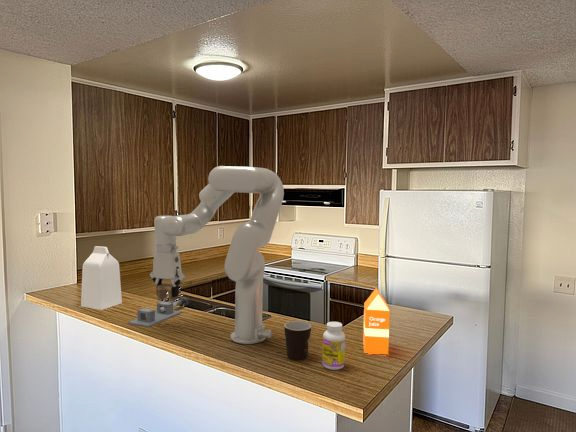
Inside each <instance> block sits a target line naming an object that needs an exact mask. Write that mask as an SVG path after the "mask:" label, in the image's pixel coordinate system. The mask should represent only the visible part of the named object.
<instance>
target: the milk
mask: <svg viewBox="0 0 576 432" xmlns="http://www.w3.org/2000/svg"><path fill="white" fill-rule="evenodd" d="M108 249H109V248H108V247H107V246H99V245H98V246H97V245H95V246H94V247H93V250H92V253H91V254H90V255H89V256H88V257H87V258H86V260H85V261H84V262H83V264H82V271H81V274H82V275H81V276H82V277H81V297H80V307H83V308H89V309H94V310H99V311H103V310H106V309H109V308H111V307H115V306H118V305H121V304H123V301H122V300H123V299H122V286H121V283H122V282H121V271H120V263H119V261H118V260H117V259H116V258H115V257H114V256H113V255H112V254H110V252H109V250H108Z"/></svg>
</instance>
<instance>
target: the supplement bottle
mask: <svg viewBox="0 0 576 432" xmlns="http://www.w3.org/2000/svg"><path fill="white" fill-rule="evenodd" d="M342 330H343V324H342V322H339V321H328V322H327V323H326V330H325V331H324V332H323V334H322V362H321V363H322V366H323V367H324V368H326V369H328V370H332V371H333V370H334V371H335V370H341V369H343V368H344V366H345V362H346V361H345V359H346V358H345V357H346V356H345V355H346V334H345V333H344V332H343V331H342Z"/></svg>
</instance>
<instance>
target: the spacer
mask: <svg viewBox="0 0 576 432" xmlns="http://www.w3.org/2000/svg"><path fill="white" fill-rule="evenodd" d="M172 287H173V285H172V283H171V284H170V283H162V284H161V285H158V286H157V288H156V296H157V301H162V300H164V299H167V298H168V302H175V301H176V300H177V301H178V300H179V296H177V297H172ZM167 292H168V293H167ZM167 294H168V295H167Z"/></svg>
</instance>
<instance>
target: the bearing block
mask: <svg viewBox="0 0 576 432" xmlns="http://www.w3.org/2000/svg"><path fill="white" fill-rule="evenodd" d="M163 306H166V311H164V312H161V311H160V308H161V307H163ZM182 312H183V311H181V310H175V309H174V308H173V302H171V301H162V300H160V301H158V302H157V303H156V310H155V309H150V308H146V307H145V308H144V307H143V308H140V309H137V317H136V318H134V319H133V320H130V321H127V324H128V325H133V326H139V327H144V328H150V327H153V326H155V325H156V324H157V325H158V324H159V323H162V322H164V321H166V320H168V319H172V318H174V317H175V316H178V315H180V314H182Z"/></svg>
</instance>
